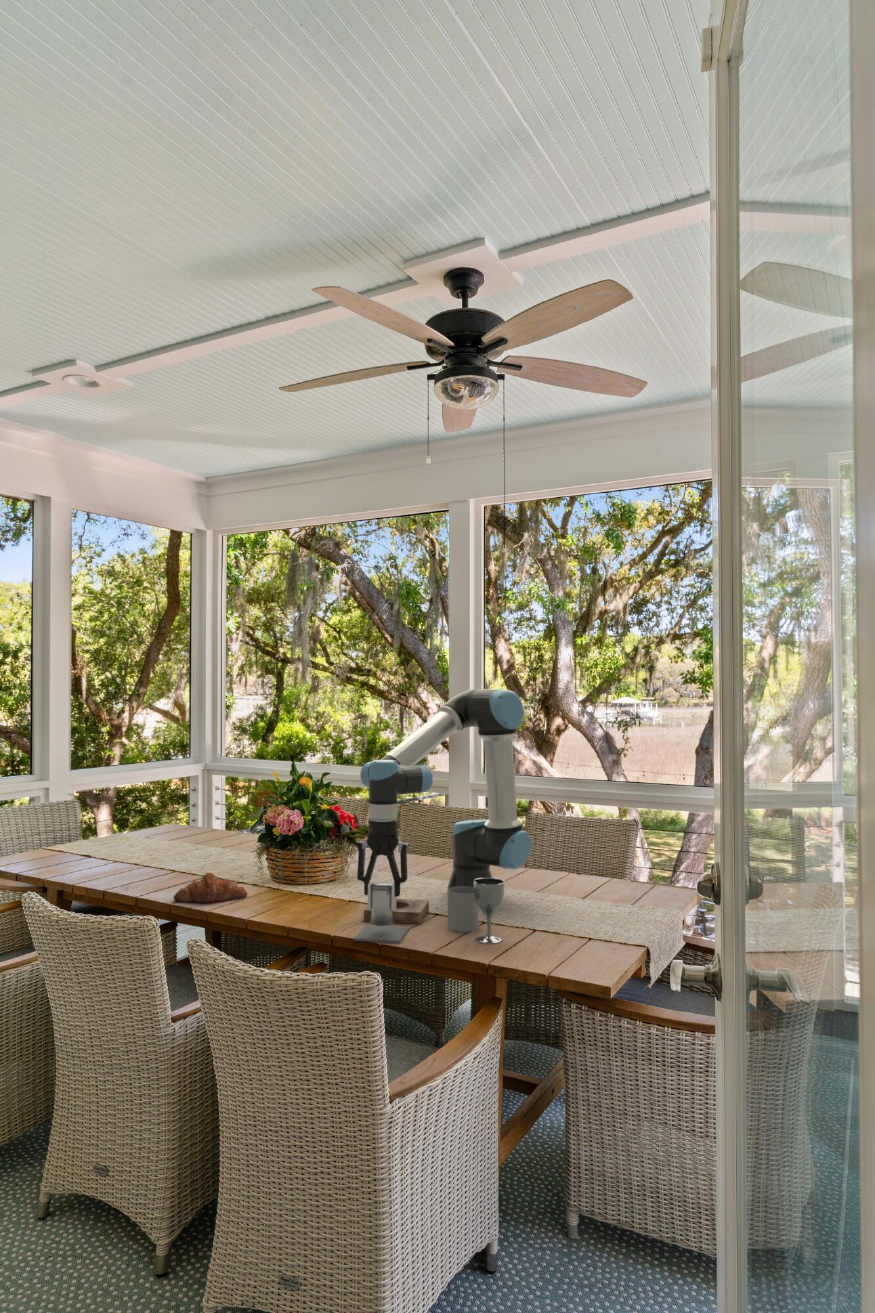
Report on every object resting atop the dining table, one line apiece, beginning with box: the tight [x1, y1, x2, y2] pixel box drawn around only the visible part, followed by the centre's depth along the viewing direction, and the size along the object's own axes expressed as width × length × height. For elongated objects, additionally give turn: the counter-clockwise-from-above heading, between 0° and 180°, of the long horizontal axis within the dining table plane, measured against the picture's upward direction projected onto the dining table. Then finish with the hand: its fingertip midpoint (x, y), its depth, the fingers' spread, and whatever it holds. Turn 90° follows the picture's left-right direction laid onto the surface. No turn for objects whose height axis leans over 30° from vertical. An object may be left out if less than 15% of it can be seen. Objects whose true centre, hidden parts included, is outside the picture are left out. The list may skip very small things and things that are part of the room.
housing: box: [363, 898, 430, 925], centre depth 236 cm, size 16×14×3 cm
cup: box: [447, 886, 480, 933], centre depth 225 cm, size 8×8×10 cm
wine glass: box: [474, 877, 506, 945], centre depth 214 cm, size 8×8×15 cm
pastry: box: [173, 872, 248, 904], centre depth 254 cm, size 17×15×8 cm
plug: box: [370, 881, 394, 926], centre depth 217 cm, size 6×6×10 cm
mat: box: [353, 924, 410, 944], centre depth 217 cm, size 12×12×1 cm
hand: (382, 908), depth 217 cm, fingers closed on plug, 6 cm apart
